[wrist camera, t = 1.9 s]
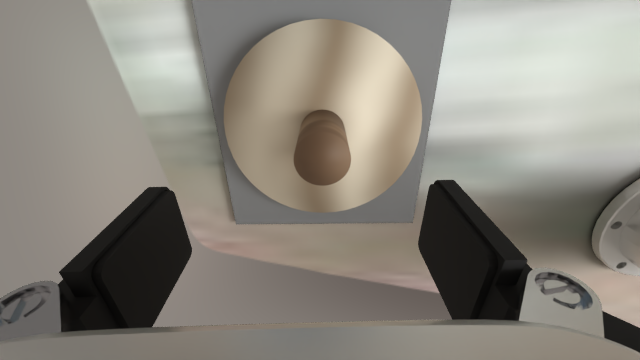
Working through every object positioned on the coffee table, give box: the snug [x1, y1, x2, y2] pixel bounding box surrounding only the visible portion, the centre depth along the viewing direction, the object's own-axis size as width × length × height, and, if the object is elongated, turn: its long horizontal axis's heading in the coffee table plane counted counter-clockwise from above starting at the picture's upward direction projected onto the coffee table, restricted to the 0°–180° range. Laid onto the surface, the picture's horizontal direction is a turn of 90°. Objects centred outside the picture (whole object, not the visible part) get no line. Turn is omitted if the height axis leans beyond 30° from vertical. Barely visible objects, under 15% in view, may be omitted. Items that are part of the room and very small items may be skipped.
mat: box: [192, 0, 451, 224], centre depth 21 cm, size 16×18×1 cm
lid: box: [224, 19, 422, 213], centre depth 18 cm, size 14×14×6 cm
